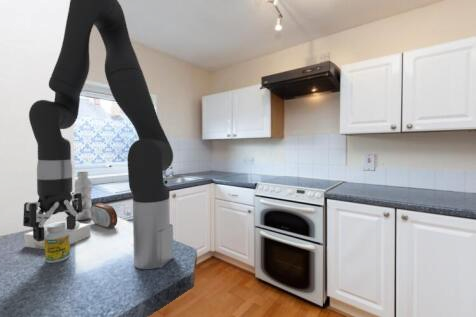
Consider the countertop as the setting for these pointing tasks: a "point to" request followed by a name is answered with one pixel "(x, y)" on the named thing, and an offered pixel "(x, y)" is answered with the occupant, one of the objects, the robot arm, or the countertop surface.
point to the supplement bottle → (57, 243)
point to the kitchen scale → (74, 234)
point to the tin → (104, 215)
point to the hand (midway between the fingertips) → (56, 234)
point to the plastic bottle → (84, 195)
